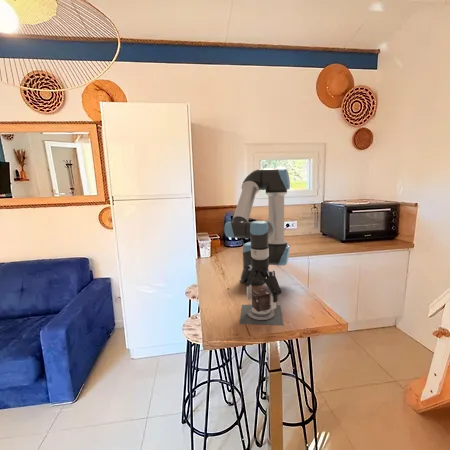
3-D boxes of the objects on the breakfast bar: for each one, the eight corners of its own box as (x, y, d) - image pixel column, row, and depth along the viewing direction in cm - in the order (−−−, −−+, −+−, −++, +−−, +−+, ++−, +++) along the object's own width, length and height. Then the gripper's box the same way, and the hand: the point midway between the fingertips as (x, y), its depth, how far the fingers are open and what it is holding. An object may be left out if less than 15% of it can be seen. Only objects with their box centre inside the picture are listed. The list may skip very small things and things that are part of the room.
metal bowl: (247, 307, 128) (247, 301, 128) (274, 308, 127) (274, 301, 126) (246, 320, 117) (246, 314, 116) (275, 321, 115) (275, 314, 115)
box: (251, 306, 123) (251, 290, 122) (263, 303, 125) (263, 288, 124) (258, 312, 117) (257, 295, 116) (270, 309, 119) (270, 293, 118)
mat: (241, 305, 132) (241, 304, 132) (280, 306, 130) (280, 305, 130) (239, 325, 114) (239, 324, 114) (283, 326, 112) (283, 325, 112)
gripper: (233, 254, 124) (234, 298, 128) (278, 265, 106) (279, 316, 110) (244, 250, 129) (245, 293, 133) (289, 260, 111) (290, 309, 115)
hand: (261, 303), depth 122 cm, fingers open, 13 cm apart
